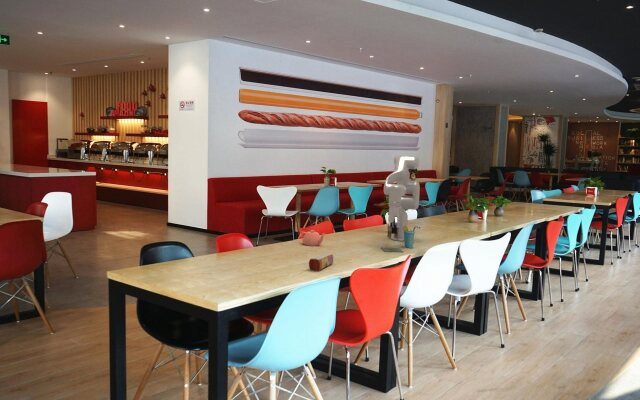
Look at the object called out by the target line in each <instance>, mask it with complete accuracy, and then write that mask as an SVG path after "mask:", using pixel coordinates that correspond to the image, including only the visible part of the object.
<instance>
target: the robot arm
mask: <svg viewBox="0 0 640 400" xmlns="http://www.w3.org/2000/svg"><path fill="white" fill-rule="evenodd" d="M393 164H394V169H393V172H392V173H390V174H389V175H388V176H387V177H386V179H384V180H385V181H384V185H383V193H384V195H385V196H388V207H389V208H388V218H387V221H388V222H389V226H392V231H391V235H392V236H391V238H390V240H393V241H400V242H404V232H403V226H405V225H406V226H407V227H408V217H409V216H408V213H407V212H406V210H412V211H413V210H417V209H418V208H419V205H420V190H421V189H420V187H421V186H420V183H419V181H418V180H410V175H411V174H410V171H409V170H417V169H418V168H419V166H420V158H419V157H418V156H412V155H395V156H394V158H393ZM394 182H396V184H395V183H394ZM407 194H408V195H407ZM397 227H399V232H398V239H396V238H394V234H397Z"/></svg>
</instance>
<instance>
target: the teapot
mask: <svg viewBox="0 0 640 400" xmlns="http://www.w3.org/2000/svg"><path fill="white" fill-rule="evenodd" d="M300 235H301V238H302V244H303V246H308V247H318V246H320V245H321V243H322V242H323V240H324V237H325V235H326V232H323V233H322V234H321V236H320V233H319V232H317V231H315V229H311V230H310V231H307V232H306V231H301V233H300Z"/></svg>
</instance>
